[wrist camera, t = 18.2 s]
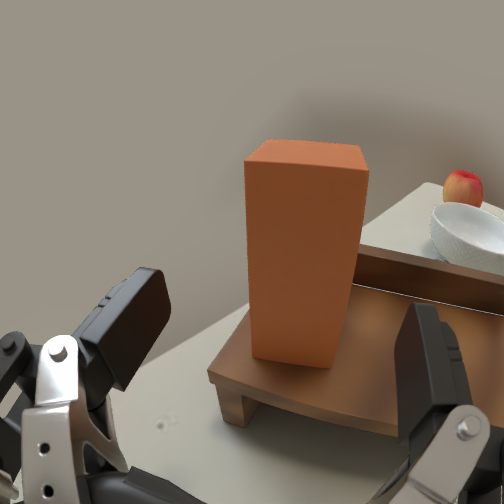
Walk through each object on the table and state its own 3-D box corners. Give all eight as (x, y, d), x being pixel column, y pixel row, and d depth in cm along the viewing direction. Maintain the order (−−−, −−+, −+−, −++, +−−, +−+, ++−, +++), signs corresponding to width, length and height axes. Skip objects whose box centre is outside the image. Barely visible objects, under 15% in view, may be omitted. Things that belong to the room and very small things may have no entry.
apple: (439, 203, 60) (446, 163, 55) (474, 214, 56) (483, 174, 51) (438, 217, 54) (447, 171, 49) (477, 230, 49) (489, 184, 44)
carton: (251, 357, 18) (243, 160, 12) (268, 306, 22) (268, 139, 16) (331, 369, 17) (369, 170, 11) (336, 314, 21) (359, 145, 15)
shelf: (220, 424, 22) (199, 337, 16) (280, 321, 32) (283, 228, 26) (469, 479, 13) (556, 409, 8) (470, 363, 24) (516, 279, 18)
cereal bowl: (419, 277, 37) (432, 232, 33) (424, 229, 49) (431, 194, 46) (517, 306, 30) (536, 265, 26) (500, 252, 42) (512, 218, 38)
